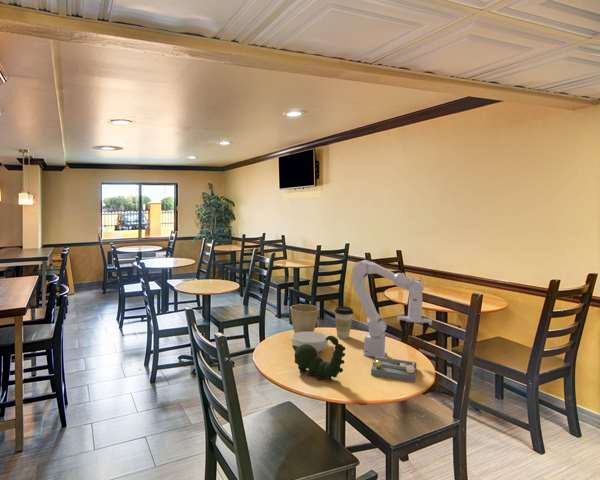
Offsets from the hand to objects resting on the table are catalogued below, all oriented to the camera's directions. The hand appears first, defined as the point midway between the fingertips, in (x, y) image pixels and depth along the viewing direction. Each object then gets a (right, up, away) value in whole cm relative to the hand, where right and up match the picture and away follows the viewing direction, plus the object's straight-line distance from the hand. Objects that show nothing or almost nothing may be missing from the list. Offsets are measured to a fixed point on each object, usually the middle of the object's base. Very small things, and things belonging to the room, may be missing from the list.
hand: (413, 338), depth 174 cm
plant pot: (-48, -7, +27) cm, 56 cm away
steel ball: (-7, -9, -12) cm, 17 cm away
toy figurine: (-44, -11, -17) cm, 48 cm away
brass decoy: (-18, -7, -14) cm, 24 cm away
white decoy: (-7, -8, -18) cm, 21 cm away
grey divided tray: (-11, -11, -11) cm, 19 cm away
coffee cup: (-28, -7, +32) cm, 43 cm away
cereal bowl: (-46, -9, +10) cm, 48 cm away
